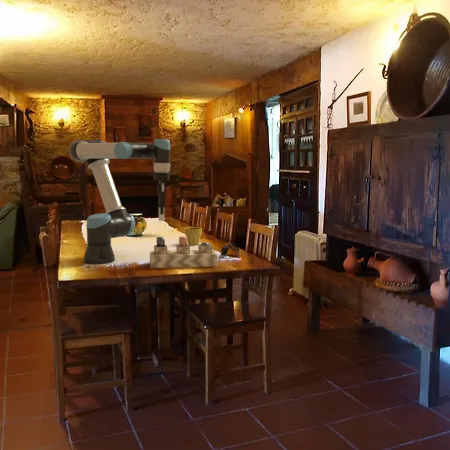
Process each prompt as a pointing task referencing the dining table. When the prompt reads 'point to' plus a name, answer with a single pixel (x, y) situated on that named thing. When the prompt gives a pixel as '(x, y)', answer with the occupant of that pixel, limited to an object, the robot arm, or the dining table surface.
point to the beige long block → (183, 257)
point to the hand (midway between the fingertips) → (161, 220)
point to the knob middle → (182, 241)
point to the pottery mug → (231, 246)
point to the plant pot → (193, 235)
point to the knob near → (160, 241)
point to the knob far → (204, 244)
